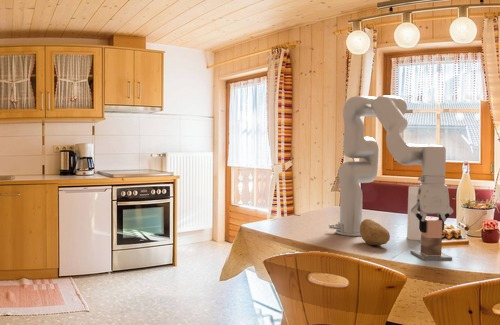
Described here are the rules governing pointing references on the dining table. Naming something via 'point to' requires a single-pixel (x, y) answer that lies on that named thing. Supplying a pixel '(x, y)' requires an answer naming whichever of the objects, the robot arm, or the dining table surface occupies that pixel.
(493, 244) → the dining table surface
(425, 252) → the walnut block
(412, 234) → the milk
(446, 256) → the slate board
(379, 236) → the potato
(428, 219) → the terracotta block
